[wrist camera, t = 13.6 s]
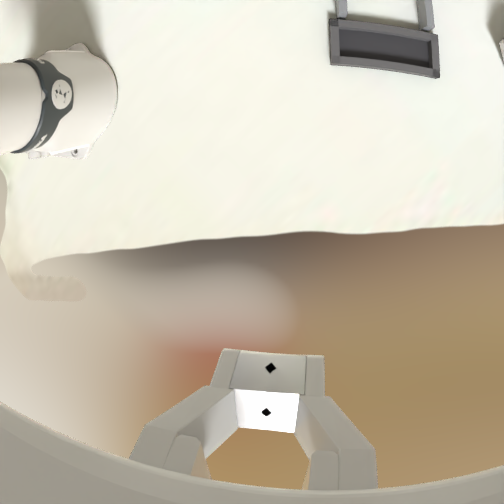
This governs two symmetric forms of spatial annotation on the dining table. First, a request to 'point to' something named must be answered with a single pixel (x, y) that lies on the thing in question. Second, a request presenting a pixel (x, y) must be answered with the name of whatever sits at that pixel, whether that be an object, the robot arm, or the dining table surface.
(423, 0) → the tunnel rails
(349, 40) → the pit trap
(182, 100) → the dining table surface
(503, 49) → the die
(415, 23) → the dining table surface
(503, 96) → the dining table surface
